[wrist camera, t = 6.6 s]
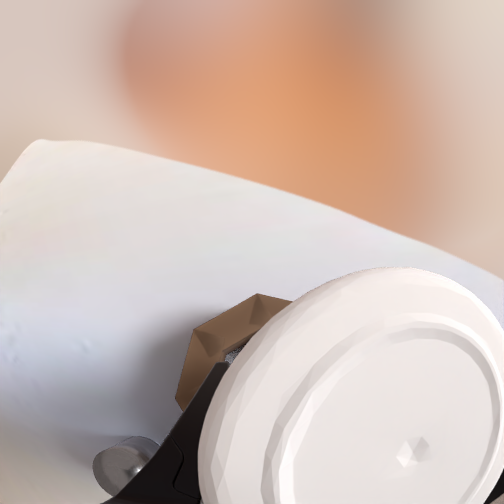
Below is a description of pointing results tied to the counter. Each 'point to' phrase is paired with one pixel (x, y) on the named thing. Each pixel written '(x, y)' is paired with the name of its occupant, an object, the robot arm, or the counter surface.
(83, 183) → the counter surface
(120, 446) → the short metal stub
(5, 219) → the counter surface
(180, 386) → the walnut collar
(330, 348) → the sprinkles bottle
